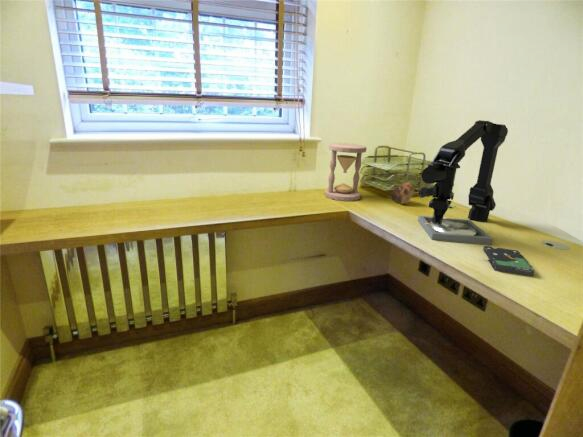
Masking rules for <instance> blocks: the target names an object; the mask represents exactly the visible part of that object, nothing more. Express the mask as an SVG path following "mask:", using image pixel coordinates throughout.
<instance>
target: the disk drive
mask: <svg viewBox="0 0 583 437" xmlns="http://www.w3.org/2000/svg"><path fill="white" fill-rule="evenodd" d="M482 251H483V252H484V254H485V255H486V256H487V258H488V260H487V261H488V262H489V264H490V265H491V268H492V269H493V270H494V271H495V272H501V273H506V274H513V275H519V276H524V277H525V276H526V277H532V278H533V277H534V275H535V271H534V267H533V266H532V265H531V263H530V262H529V261H528V260H527V258H525V257H524V255H523V254H522V253H521V252H520V251H519V250H516V249H509V248H503V247H497V248H494V247H493V246H491V245H484V246H483V250H482Z"/></svg>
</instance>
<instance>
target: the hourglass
mask: <svg viewBox="0 0 583 437" xmlns="http://www.w3.org/2000/svg"><path fill="white" fill-rule="evenodd" d="M328 150H330V151H331V158H330V162H329V163H330V164H329V168H330V173H329V175H328V187H327V188H326V189H325V190H324V196H325V197H326V198H328V199H331V200H334V201H335V200H336V201H340V202H355V201H358V200H360V199H361V192H359V191H358V187H359V186H358V185H359V183H360V182H359V181H360V169H361V166H362V154H363V153H366V152H367V146H366V145H362V144H356V143H355V144H354V143H348V142H347V143H346V142H345V143H343V142H342V143H341V142H340V143H339V142H333V143H329V146H328ZM337 152H339V153H348V154H349V153H350V154H356V156H354V155H347V154H345V155H344V154H338V155H337ZM337 161H338V162H339V164H340V166H341V168H342V170H343V171H342V172H343V173H344V174H347V173H348V170H349V169H350V167H351V166H352V165H353V163H354V169H355V172H354V175H353V178H352V182H353V184H352V186H350V185H348V184H346V183H343V182H342V183H340V184H336V185H335V184H334V183H335V179H336V175H335V169H336V167H337Z"/></svg>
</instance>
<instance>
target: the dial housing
mask: <svg viewBox="0 0 583 437" xmlns="http://www.w3.org/2000/svg"><path fill="white" fill-rule="evenodd" d="M432 218H433V216H427V215H426V216H425V215H418V217H417V222H418V223H419V225H420V226H421V228H422V229H423V230H424V232H425V233H426V234H427V235H428V237H429V238H430V239H431V241H442V242H443V241H444V242H451V243H452V242H453V243H462V244H463V243H464V244H473V245H474V244H475V245H476V244H477V245H484V246H492V244H493V237H492V236H490V235H489V234H488V233H486V231H484V230H483V229H482V228H481V227H479V226H478V225H477V224H476V223H474V221H472V220H470V219H463V218H462V219H461V218H451V217H450V218H449V217H446V216H445V217H444V216H443V220H449V221H455V222H460V223H463V224H466V225H469V226H471V227H473V228H474V229H475V230H476V231H477V232H476V236H472V235H461V234H449V233H438V232H435V230H434V229H433V228H432V227H431V226H430V222H431V221H432Z"/></svg>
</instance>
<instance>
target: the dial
mask: <svg viewBox="0 0 583 437" xmlns="http://www.w3.org/2000/svg"><path fill="white" fill-rule="evenodd" d="M444 216H445V214H444V215H443V217H444ZM432 217H433V218H432V221H431V222H430V223H429V224H430V226H431V227H432V228H433V229H434V230H435V232H438V233H449V234H461V235H472V236H476V232H477V231H476V230H475V229H474V228H473V227H471V226H469V225H466V224H463V223H460V222H455V221H449V220H443V217H442V218H441V220H440V221H439V223H436V222H435V212H434V211H433V214H432Z"/></svg>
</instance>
